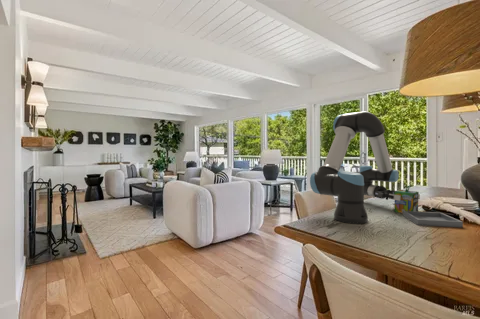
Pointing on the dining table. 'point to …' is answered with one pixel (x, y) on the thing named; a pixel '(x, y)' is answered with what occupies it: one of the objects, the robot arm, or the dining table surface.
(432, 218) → the tray
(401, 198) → the chalk box
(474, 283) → the dining table surface
